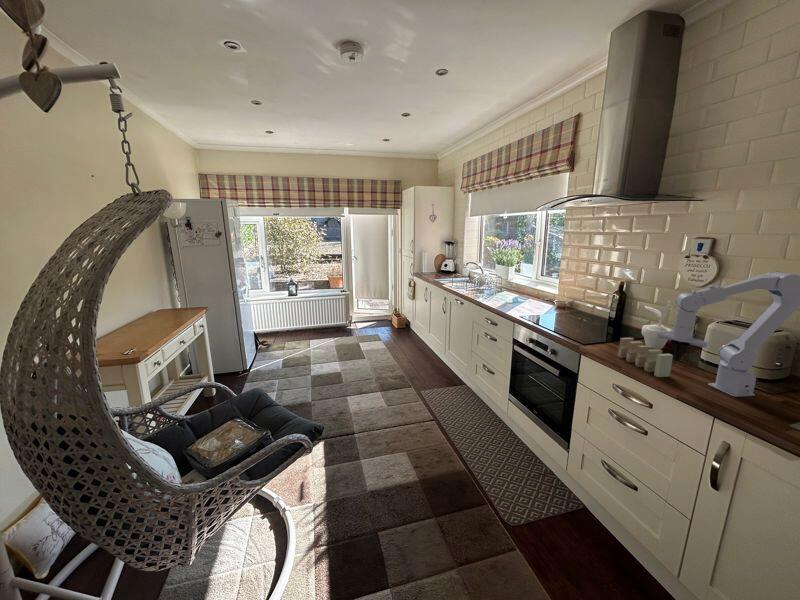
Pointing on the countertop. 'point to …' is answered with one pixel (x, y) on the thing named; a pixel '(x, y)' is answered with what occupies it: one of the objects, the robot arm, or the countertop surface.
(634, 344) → the domino
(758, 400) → the countertop surface
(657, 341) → the potted plant
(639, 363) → the domino
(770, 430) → the countertop surface
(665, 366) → the domino
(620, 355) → the domino
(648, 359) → the domino
